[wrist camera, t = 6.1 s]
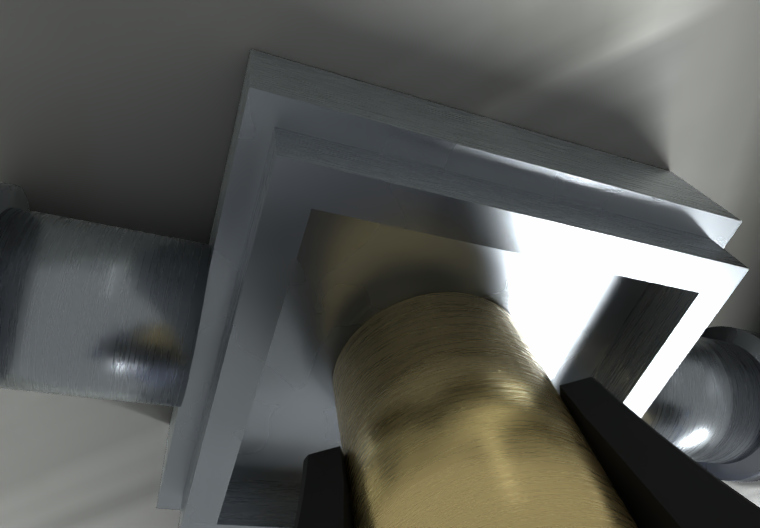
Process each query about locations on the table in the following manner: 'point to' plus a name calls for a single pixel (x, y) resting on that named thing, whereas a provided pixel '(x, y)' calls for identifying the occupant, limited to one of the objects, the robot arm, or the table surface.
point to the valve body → (377, 285)
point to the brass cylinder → (461, 425)
